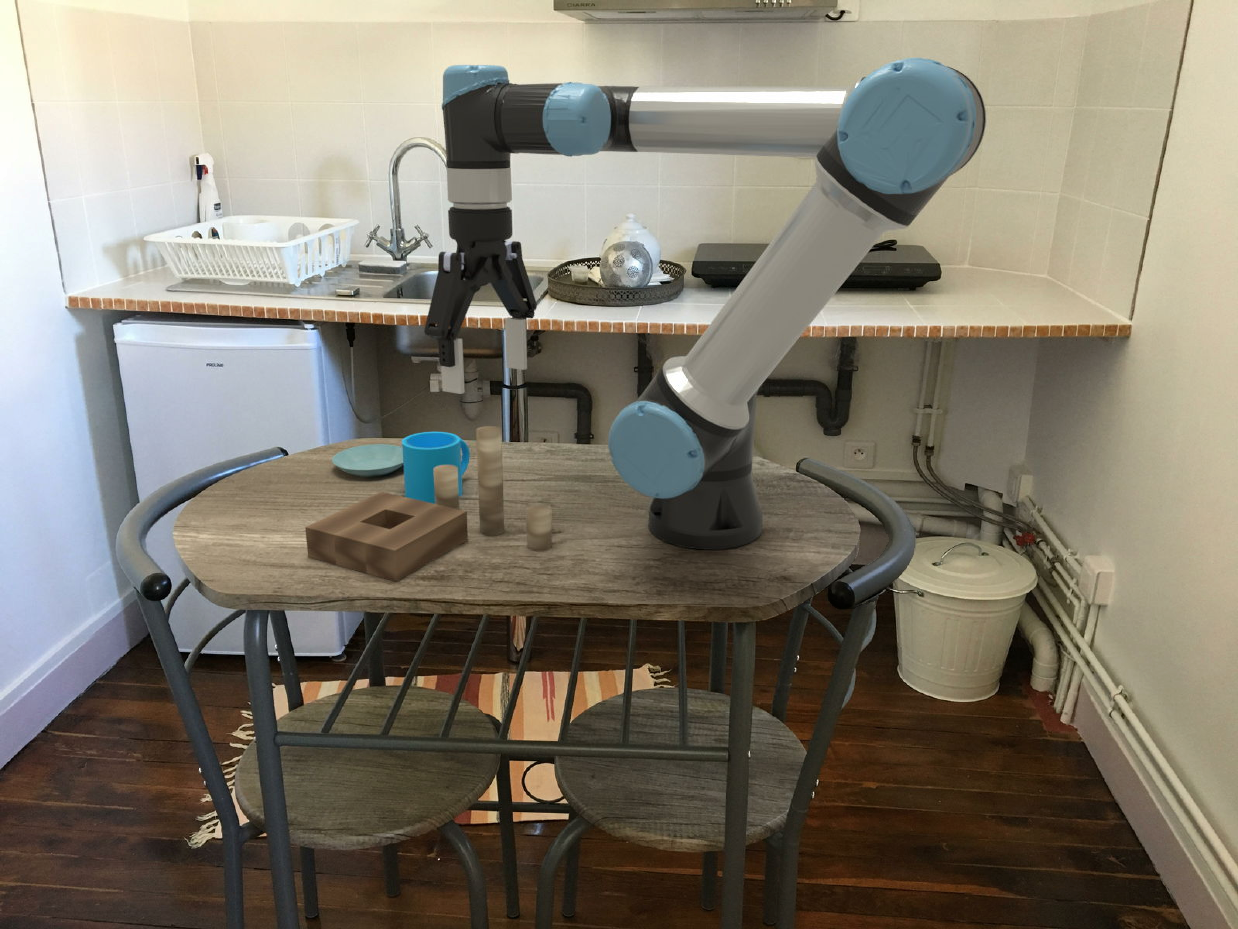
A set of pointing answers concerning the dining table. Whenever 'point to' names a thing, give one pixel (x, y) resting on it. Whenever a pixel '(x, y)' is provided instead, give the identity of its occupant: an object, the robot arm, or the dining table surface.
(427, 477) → the mug
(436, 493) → the dowel mid
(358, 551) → the collar block
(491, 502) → the dowel long
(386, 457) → the saucer
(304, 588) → the dining table surface
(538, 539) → the dowel short
